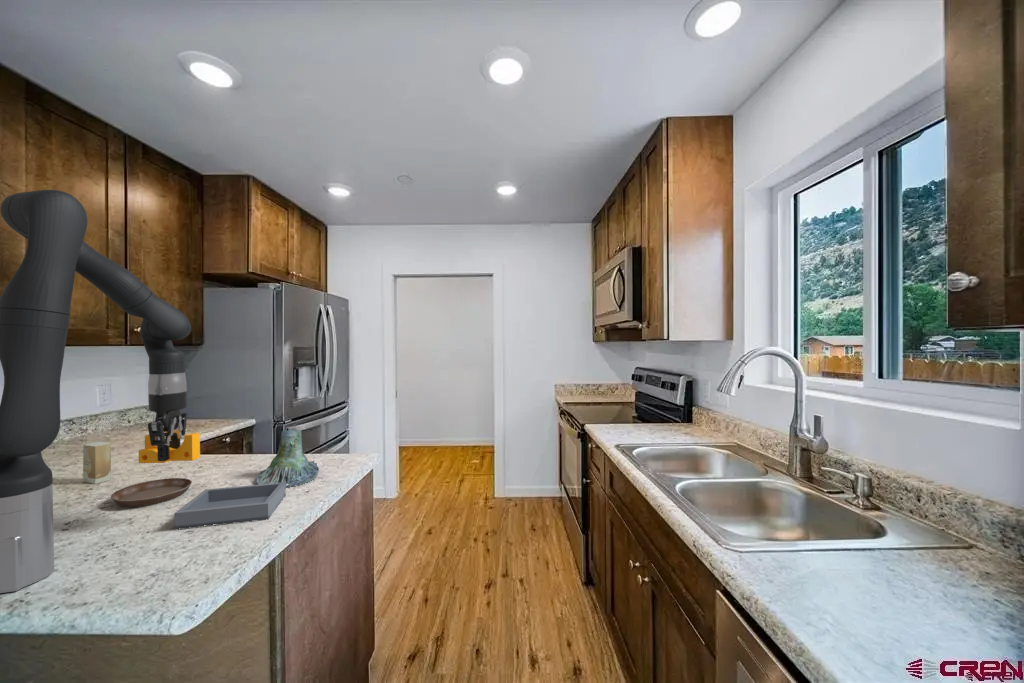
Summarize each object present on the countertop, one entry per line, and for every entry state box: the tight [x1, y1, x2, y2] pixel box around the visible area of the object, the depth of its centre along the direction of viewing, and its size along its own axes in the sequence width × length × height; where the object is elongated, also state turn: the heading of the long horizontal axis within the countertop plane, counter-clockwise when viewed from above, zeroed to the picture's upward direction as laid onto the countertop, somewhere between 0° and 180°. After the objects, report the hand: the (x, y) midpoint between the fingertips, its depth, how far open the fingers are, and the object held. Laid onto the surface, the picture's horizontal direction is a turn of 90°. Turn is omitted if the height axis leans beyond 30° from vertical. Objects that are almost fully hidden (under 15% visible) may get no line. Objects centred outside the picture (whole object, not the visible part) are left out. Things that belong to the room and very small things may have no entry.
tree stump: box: [256, 429, 320, 489], centre depth 135 cm, size 18×20×18 cm
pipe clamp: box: [138, 432, 201, 464], centre depth 104 cm, size 12×4×6 cm, turn 90°
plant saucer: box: [110, 477, 193, 508], centre depth 119 cm, size 18×18×3 cm
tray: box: [174, 482, 287, 530], centre depth 108 cm, size 16×20×4 cm
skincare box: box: [82, 441, 112, 484], centre depth 133 cm, size 6×4×12 cm
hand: (169, 457), depth 105 cm, fingers closed on pipe clamp, 5 cm apart
